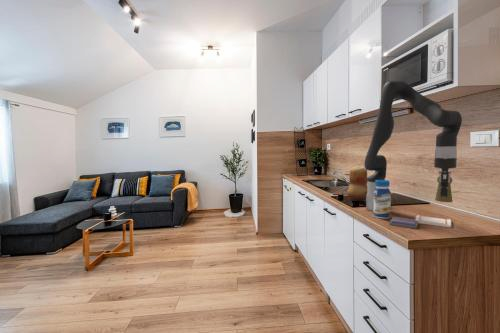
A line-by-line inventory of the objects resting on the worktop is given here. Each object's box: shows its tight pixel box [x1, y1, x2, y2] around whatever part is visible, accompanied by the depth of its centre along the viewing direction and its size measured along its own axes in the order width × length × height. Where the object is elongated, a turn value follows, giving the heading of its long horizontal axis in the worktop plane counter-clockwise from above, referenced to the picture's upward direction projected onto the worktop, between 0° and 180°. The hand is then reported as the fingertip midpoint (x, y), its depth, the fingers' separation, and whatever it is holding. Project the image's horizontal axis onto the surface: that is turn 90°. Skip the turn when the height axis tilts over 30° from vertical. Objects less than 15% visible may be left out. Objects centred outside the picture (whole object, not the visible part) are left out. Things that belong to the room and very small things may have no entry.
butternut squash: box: [346, 165, 368, 203], centre depth 170 cm, size 14×13×25 cm
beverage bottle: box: [372, 179, 392, 220], centre depth 130 cm, size 8×8×20 cm
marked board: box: [414, 215, 452, 229], centre depth 120 cm, size 14×12×1 cm
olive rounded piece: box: [434, 175, 453, 203], centre depth 106 cm, size 6×6×11 cm
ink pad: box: [388, 216, 419, 230], centre depth 118 cm, size 11×10×2 cm
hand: (443, 195), depth 106 cm, fingers closed on olive rounded piece, 4 cm apart
